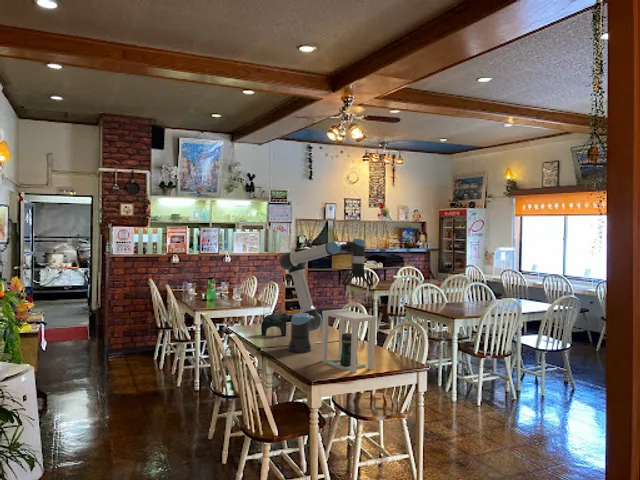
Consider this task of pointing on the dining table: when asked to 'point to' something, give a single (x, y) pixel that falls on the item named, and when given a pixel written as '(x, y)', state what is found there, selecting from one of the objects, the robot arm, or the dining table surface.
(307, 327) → the robot arm
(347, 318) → the cream stool
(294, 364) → the dining table surface
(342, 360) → the dark green bottle
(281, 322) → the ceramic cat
